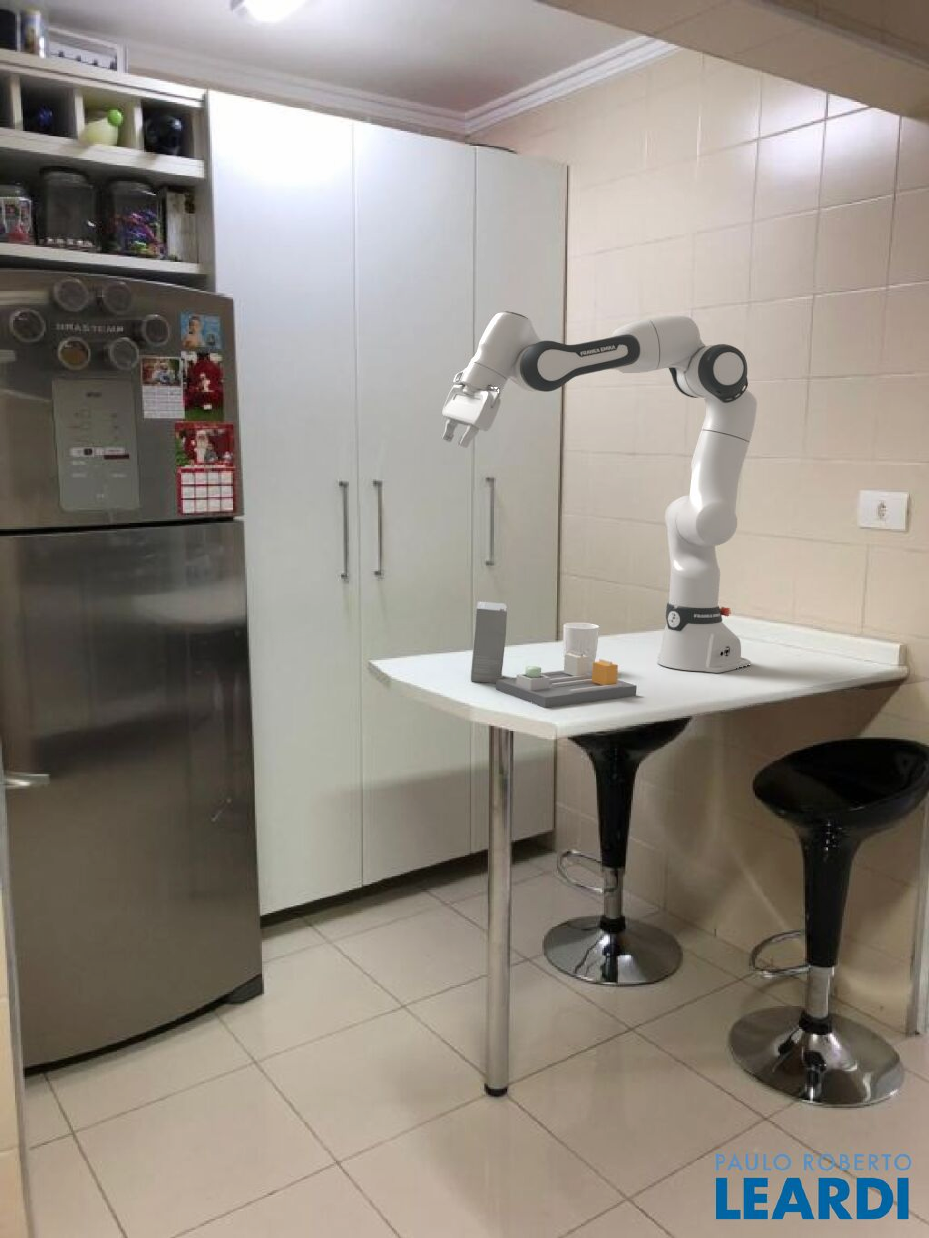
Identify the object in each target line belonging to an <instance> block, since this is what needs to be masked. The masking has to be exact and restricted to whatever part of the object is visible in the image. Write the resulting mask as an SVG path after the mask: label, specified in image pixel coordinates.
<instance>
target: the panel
mask: <svg viewBox="0 0 929 1238" xmlns="http://www.w3.org/2000/svg"><path fill="white" fill-rule="evenodd" d="M592 674H593V671H592V672H591V671H588V675H580V676H572V675H569V674H566V673H564V669H560V670H553V671H543V672H542V671H541V678H533V679H531V678H528V677H525V676H526V673H521V674H520V673H519V674H516V677H508V678H501V679H500V680H497V683H496V690H497V691H499V692H501V693H504V694H507V693H508V694H507V695H509V694H510V696H512V695H513V697H514V698H517V697H518V698H517V699H519V700H522V701H525V702H529V703H531V702H532V703H531V704H533V703H535V704H534V705H536V704H537V705H536V706H539V707H541V708H544V709H546V708H554V707H561V706H567V705H568V706H569V705H575V704H583V703H584V704H585V703H591V702H596V701H597V702H598V701H604V700H611V699H619V698H627V696H628V697H635V696H637V685H636V684H633V683H629V682H626V681H622V680H620V679H617V684H611V685H600V684H597V683H594V682H592ZM634 695H635V696H634Z"/></svg>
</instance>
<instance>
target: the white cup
mask: <svg viewBox="0 0 929 1238" xmlns="http://www.w3.org/2000/svg"><path fill="white" fill-rule="evenodd" d="M599 632H600V625H598V624H594V623H588V622H567V623H564V624H563V633H562V634H563V640H562V641H563V642H562V643H563V644H562V645H563V646H562V647H563V648H562V649H563V664H564V663H565V654H570V653H571V651H575V652H579V653H582V654H583V655H585V656H589V658H588V671H591V672H593V662H596V659H597V651H598V644H599Z"/></svg>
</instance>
